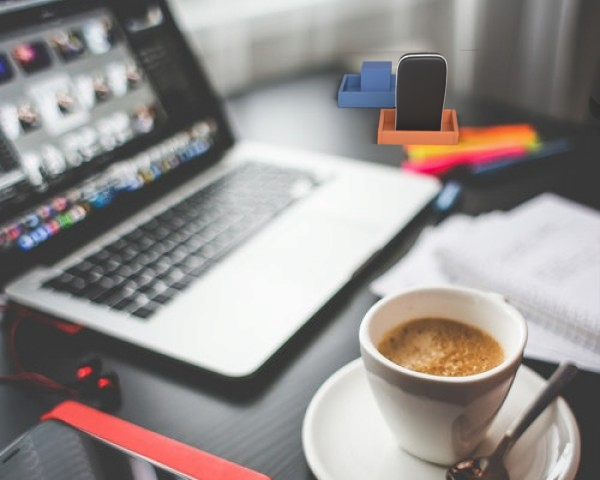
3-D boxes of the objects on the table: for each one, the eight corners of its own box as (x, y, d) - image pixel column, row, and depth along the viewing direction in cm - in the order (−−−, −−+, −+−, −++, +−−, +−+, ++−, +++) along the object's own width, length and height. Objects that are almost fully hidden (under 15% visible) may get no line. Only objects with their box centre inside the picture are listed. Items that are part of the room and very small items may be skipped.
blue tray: (411, 88, 113) (412, 74, 112) (411, 107, 104) (412, 92, 103) (344, 88, 115) (344, 74, 114) (338, 107, 106) (338, 92, 105)
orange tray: (453, 125, 97) (455, 109, 95) (457, 149, 88) (459, 132, 87) (380, 124, 98) (381, 108, 97) (377, 148, 90) (377, 131, 89)
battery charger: (440, 129, 94) (447, 49, 88) (442, 138, 91) (449, 56, 84) (393, 129, 95) (396, 50, 88) (393, 138, 92) (397, 56, 85)
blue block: (390, 90, 111) (391, 61, 108) (389, 99, 107) (390, 68, 104) (362, 90, 112) (362, 61, 109) (360, 98, 108) (360, 68, 105)
